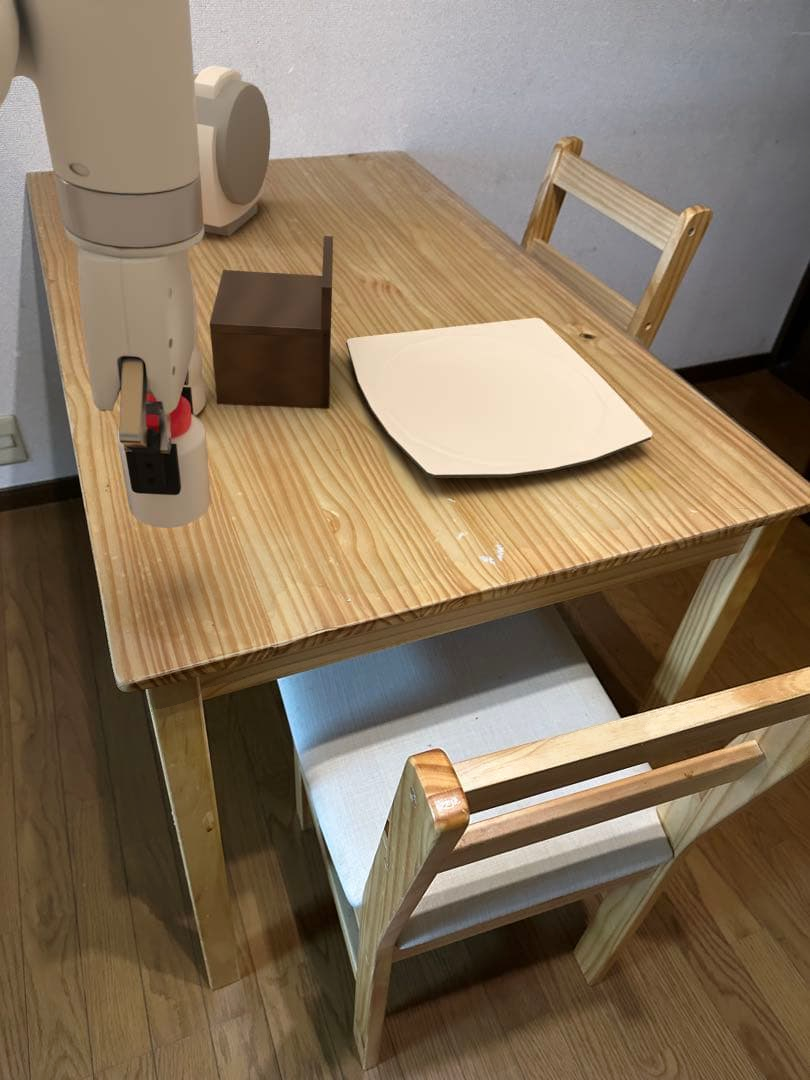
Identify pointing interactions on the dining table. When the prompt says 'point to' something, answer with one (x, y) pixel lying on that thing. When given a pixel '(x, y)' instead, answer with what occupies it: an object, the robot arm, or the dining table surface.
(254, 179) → the alarm clock
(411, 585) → the dining table surface
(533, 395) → the plate
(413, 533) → the dining table surface
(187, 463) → the pill bottle
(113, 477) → the dining table surface
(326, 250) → the wooden block chair
